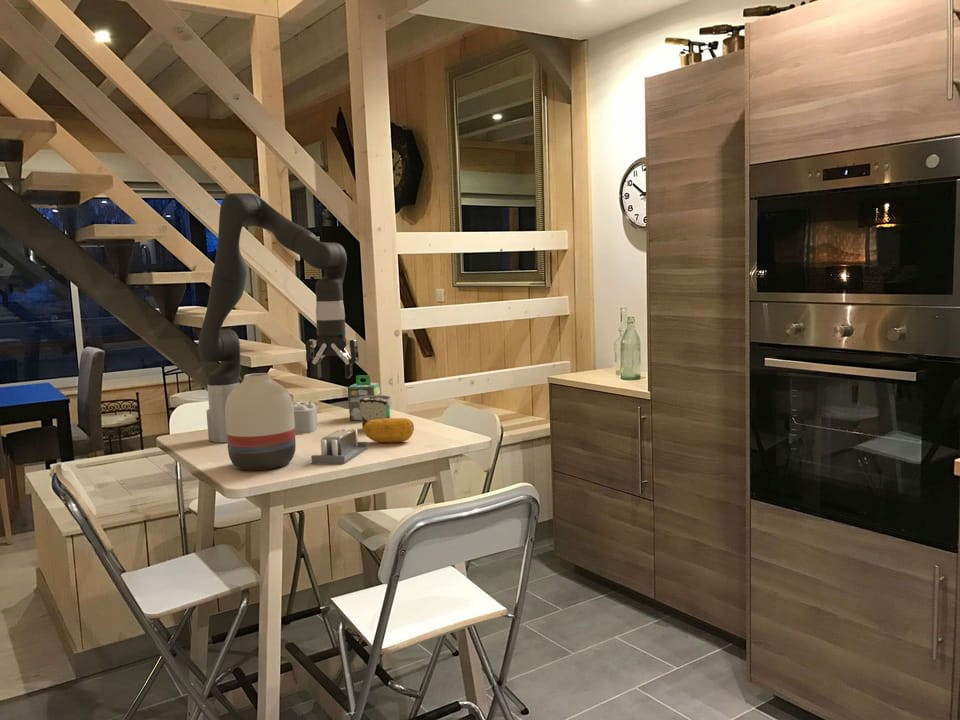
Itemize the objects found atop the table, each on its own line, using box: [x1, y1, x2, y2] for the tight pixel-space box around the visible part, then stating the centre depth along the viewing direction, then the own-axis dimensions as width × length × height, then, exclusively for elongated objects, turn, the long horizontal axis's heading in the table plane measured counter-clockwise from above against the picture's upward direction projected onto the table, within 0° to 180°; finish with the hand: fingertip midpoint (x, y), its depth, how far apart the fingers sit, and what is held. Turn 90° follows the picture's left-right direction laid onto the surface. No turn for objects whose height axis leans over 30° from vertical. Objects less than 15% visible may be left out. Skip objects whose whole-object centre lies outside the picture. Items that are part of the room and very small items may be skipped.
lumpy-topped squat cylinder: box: [293, 400, 319, 435], centre depth 245 cm, size 10×13×9 cm
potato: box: [363, 417, 415, 444], centre depth 222 cm, size 7×14×7 cm, turn 81°
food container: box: [358, 394, 394, 430], centre depth 243 cm, size 12×6×10 cm, turn 58°
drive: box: [321, 430, 356, 456], centre depth 207 cm, size 5×10×5 cm, turn 167°
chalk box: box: [347, 374, 381, 421], centre depth 261 cm, size 9×9×15 cm
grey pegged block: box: [310, 428, 369, 465], centre depth 207 cm, size 9×17×6 cm, turn 168°
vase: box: [225, 372, 297, 471], centre depth 199 cm, size 17×17×24 cm
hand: (333, 377), depth 209 cm, fingers open, 8 cm apart
